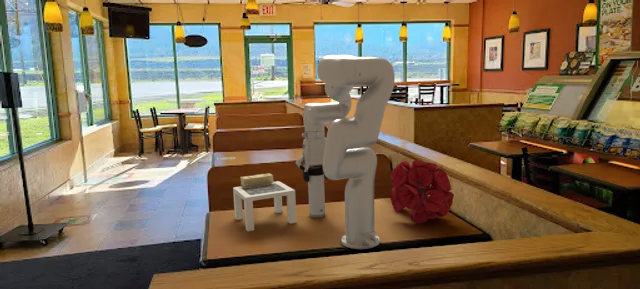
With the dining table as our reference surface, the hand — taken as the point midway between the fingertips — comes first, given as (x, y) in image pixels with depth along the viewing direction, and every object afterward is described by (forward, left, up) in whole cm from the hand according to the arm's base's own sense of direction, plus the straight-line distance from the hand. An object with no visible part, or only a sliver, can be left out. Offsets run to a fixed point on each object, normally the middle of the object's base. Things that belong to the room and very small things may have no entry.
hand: (316, 179), depth 172 cm
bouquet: (-23, -31, -15) cm, 41 cm away
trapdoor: (+7, +20, -3) cm, 21 cm away
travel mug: (0, 0, -15) cm, 15 cm away
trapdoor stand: (+5, +20, -14) cm, 25 cm away
